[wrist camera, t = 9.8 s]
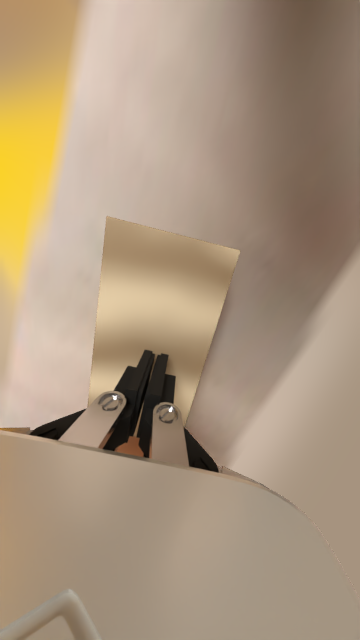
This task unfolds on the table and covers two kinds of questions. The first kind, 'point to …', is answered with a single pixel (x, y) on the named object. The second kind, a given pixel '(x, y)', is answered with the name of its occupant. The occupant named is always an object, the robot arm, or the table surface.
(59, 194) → the table surface
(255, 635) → the robot arm
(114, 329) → the sheet
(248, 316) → the table surface
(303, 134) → the table surface
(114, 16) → the table surface
